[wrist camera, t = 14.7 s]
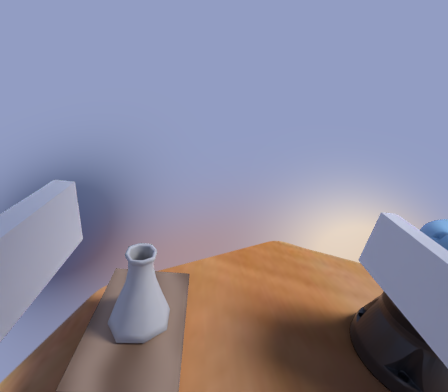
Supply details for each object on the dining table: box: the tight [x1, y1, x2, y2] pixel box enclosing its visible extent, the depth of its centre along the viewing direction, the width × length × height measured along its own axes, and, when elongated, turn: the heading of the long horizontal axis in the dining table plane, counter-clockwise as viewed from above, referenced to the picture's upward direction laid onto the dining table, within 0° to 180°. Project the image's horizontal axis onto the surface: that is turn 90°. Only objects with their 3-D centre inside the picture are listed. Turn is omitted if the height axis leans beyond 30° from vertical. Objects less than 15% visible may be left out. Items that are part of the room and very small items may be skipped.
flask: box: [108, 243, 170, 343], centre depth 28 cm, size 7×7×10 cm
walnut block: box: [55, 268, 189, 392], centre depth 31 cm, size 11×16×7 cm
